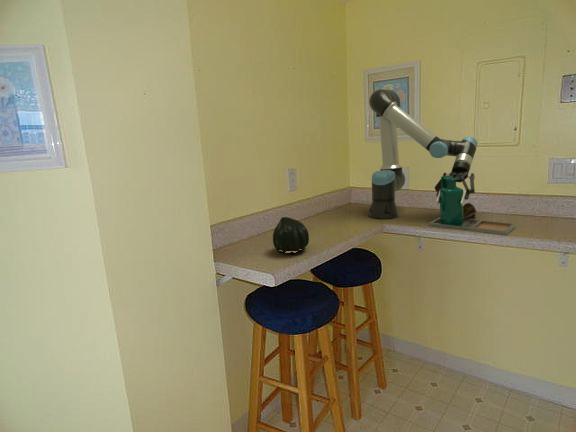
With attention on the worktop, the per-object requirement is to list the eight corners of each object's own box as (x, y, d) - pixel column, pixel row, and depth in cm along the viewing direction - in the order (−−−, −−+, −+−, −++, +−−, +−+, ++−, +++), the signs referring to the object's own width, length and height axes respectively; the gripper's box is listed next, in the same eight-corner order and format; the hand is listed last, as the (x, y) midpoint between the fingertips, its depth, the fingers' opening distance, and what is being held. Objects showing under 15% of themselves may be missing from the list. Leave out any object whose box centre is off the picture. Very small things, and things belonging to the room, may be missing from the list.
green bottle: (464, 225, 177) (465, 177, 172) (446, 227, 177) (446, 179, 172) (454, 220, 186) (454, 175, 182) (437, 222, 186) (437, 176, 181)
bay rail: (428, 225, 181) (428, 222, 180) (441, 218, 192) (441, 216, 191) (506, 235, 159) (506, 231, 159) (515, 226, 171) (515, 223, 170)
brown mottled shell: (482, 208, 185) (472, 200, 194) (456, 208, 184) (447, 199, 193) (478, 222, 188) (468, 213, 197) (453, 221, 187) (444, 213, 196)
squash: (322, 237, 153) (300, 207, 157) (297, 248, 143) (275, 216, 147) (303, 254, 163) (283, 226, 166) (279, 266, 152) (258, 236, 156)
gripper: (489, 170, 180) (477, 210, 172) (440, 170, 195) (427, 206, 187) (486, 160, 175) (474, 200, 167) (436, 160, 190) (422, 197, 182)
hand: (449, 203), depth 177 cm, fingers closed on green bottle, 10 cm apart
